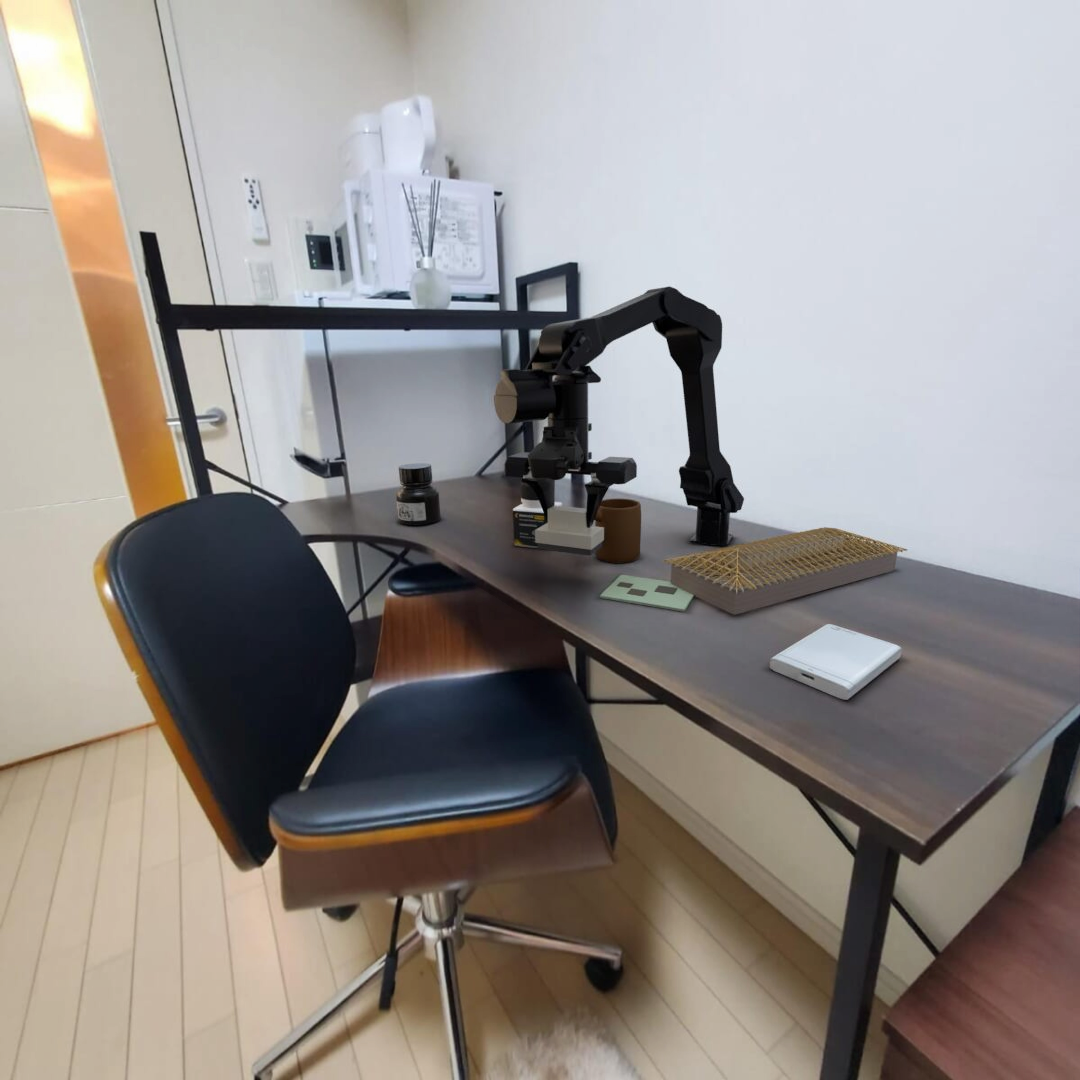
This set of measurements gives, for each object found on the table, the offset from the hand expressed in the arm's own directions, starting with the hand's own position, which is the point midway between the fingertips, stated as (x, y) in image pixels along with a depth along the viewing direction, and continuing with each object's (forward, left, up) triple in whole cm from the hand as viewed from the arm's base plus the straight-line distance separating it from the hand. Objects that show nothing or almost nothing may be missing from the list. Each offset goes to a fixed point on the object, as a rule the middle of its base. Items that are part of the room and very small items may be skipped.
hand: (569, 525), depth 85 cm
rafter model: (-14, +29, -9) cm, 34 cm away
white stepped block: (0, 0, -4) cm, 4 cm away
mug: (-12, +1, -9) cm, 15 cm away
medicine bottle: (-16, -14, -9) cm, 23 cm away
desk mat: (0, +12, -9) cm, 15 cm away
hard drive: (+11, +36, -9) cm, 39 cm away
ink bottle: (-20, -45, -9) cm, 50 cm away
